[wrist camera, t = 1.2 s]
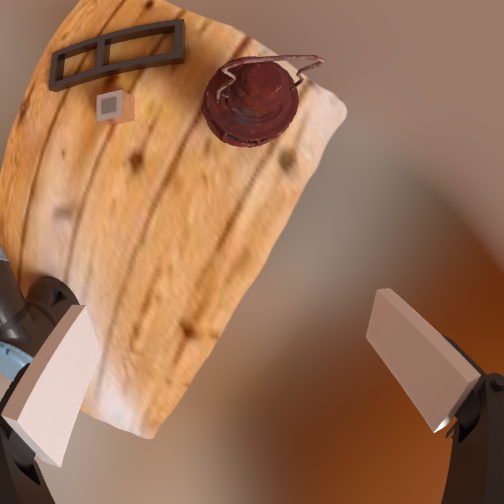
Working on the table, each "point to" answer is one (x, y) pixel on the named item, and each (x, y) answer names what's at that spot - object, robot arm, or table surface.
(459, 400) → the robot arm
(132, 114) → the block
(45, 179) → the table surface
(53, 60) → the dark grey divided frame
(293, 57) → the lantern
